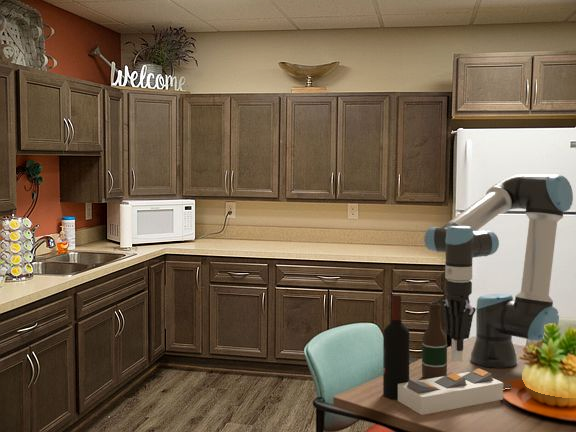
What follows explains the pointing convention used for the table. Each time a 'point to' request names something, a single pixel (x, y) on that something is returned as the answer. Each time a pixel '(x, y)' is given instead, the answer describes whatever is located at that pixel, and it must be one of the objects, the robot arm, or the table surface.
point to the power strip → (450, 395)
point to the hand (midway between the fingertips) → (456, 360)
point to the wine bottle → (395, 352)
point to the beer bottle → (434, 346)
